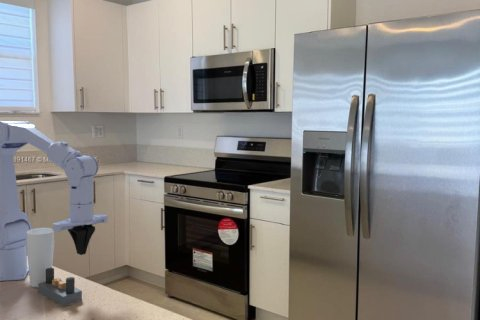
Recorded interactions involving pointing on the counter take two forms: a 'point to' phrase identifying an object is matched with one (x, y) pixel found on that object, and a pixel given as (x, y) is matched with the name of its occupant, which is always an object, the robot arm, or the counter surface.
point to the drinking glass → (39, 253)
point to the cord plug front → (70, 285)
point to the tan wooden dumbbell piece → (59, 283)
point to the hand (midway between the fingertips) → (81, 253)
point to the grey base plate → (59, 294)
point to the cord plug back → (49, 275)
